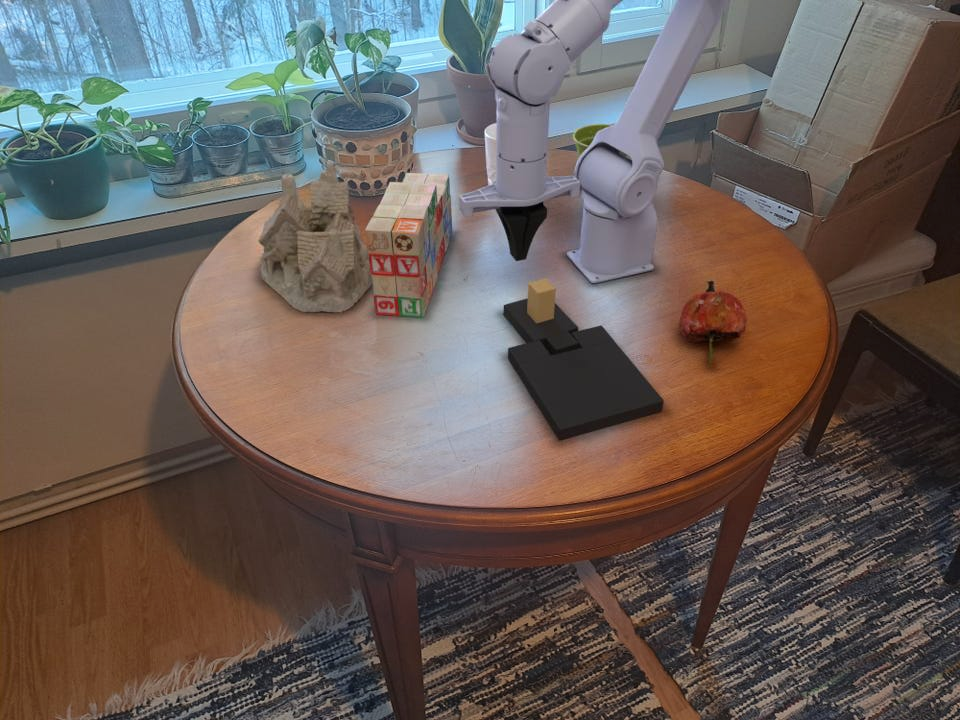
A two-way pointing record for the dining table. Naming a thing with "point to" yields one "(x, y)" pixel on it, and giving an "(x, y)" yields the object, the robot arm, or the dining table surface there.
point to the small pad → (544, 330)
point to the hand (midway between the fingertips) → (518, 256)
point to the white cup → (491, 152)
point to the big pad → (584, 384)
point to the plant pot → (588, 137)
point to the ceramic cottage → (315, 247)
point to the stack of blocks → (409, 243)
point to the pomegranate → (713, 317)
